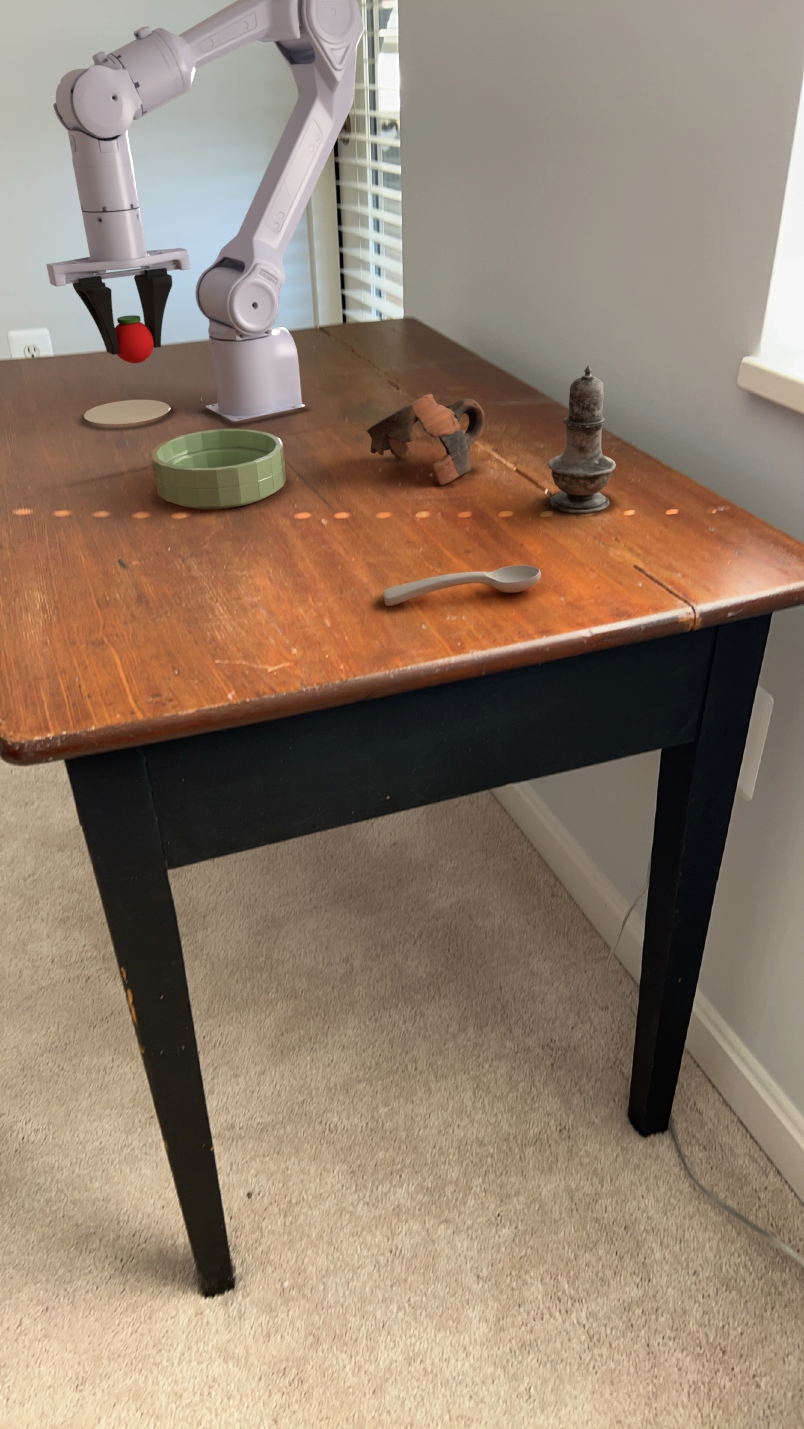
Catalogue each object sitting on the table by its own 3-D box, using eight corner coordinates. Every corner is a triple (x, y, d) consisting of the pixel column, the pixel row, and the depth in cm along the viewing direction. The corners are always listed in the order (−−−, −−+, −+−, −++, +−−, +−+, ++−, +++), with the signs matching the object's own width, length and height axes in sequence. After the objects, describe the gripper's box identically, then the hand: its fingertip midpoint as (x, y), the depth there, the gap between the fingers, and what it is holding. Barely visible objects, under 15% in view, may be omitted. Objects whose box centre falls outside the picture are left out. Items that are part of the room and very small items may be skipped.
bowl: (250, 459, 104) (246, 421, 102) (309, 492, 96) (305, 450, 93) (138, 485, 99) (131, 445, 97) (189, 522, 90) (183, 479, 88)
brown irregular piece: (423, 500, 94) (380, 419, 92) (384, 514, 103) (344, 440, 101) (519, 442, 98) (480, 363, 96) (474, 460, 106) (437, 388, 104)
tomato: (148, 355, 112) (140, 311, 110) (163, 362, 109) (155, 317, 107) (109, 362, 110) (101, 317, 108) (124, 369, 107) (115, 323, 105)
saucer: (151, 399, 125) (150, 394, 125) (184, 417, 118) (183, 412, 118) (72, 414, 121) (71, 409, 120) (102, 434, 114) (101, 429, 113)
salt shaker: (540, 492, 93) (546, 359, 87) (603, 489, 94) (613, 355, 87) (554, 516, 88) (561, 376, 82) (620, 512, 89) (632, 372, 82)
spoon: (546, 593, 75) (545, 568, 74) (389, 620, 74) (385, 595, 73) (535, 577, 78) (534, 553, 77) (383, 602, 77) (380, 579, 76)
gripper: (163, 199, 108) (182, 332, 115) (27, 212, 101) (56, 353, 109) (189, 204, 103) (207, 343, 110) (48, 218, 96) (77, 365, 103)
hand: (134, 349), depth 109 cm, fingers closed on tomato, 4 cm apart
